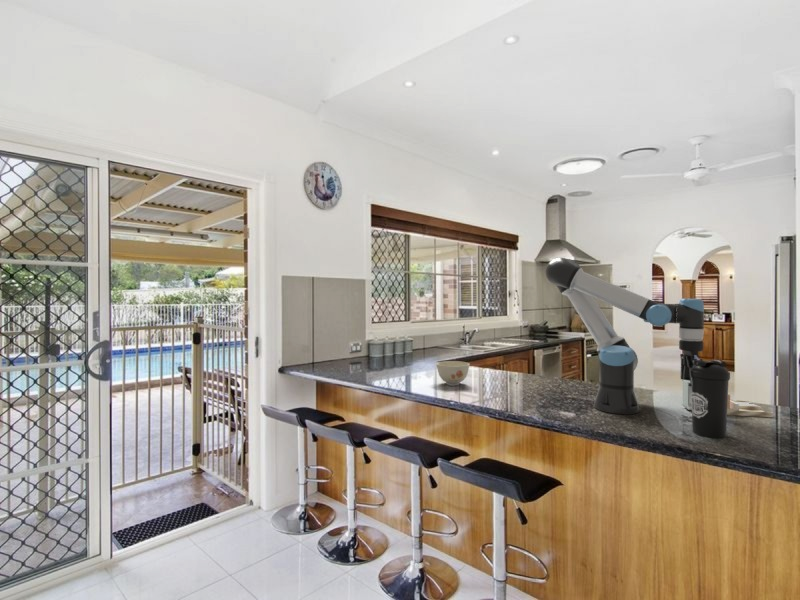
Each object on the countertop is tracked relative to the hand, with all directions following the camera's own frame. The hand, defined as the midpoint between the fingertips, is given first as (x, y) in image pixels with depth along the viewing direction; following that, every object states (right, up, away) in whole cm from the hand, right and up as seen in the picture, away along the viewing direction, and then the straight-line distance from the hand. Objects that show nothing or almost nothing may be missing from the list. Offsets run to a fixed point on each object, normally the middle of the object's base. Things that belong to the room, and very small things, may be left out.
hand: (690, 401), depth 160 cm
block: (+9, -1, -2) cm, 9 cm away
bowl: (-84, -3, +46) cm, 96 cm away
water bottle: (-12, -4, -27) cm, 30 cm away
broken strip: (+18, -3, +4) cm, 19 cm away
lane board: (+14, -3, 0) cm, 15 cm away
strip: (+6, -3, -2) cm, 7 cm away
